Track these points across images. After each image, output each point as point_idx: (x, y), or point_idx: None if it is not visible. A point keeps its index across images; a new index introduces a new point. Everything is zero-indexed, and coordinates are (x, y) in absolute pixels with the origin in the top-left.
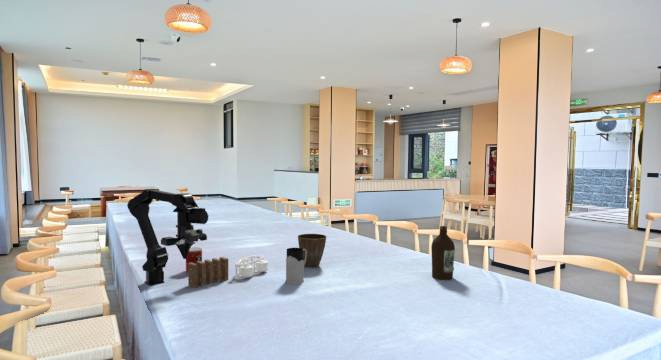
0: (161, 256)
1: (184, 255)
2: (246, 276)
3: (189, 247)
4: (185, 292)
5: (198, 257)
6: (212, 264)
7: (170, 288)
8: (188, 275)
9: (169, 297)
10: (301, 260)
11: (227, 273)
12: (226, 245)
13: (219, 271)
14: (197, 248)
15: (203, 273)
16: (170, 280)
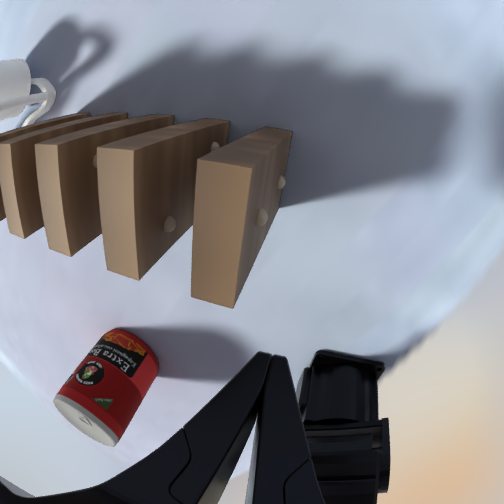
0: (338, 485)
1: (285, 397)
2: (23, 61)
3: (142, 485)
4: (391, 105)
5: (87, 377)
6: (62, 137)
7: (381, 254)
8: (265, 237)
9: (497, 125)
10: None
11: (50, 119)
12: (27, 386)
13: (70, 122)
14: (69, 416)
15: (179, 130)
16: (276, 351)
